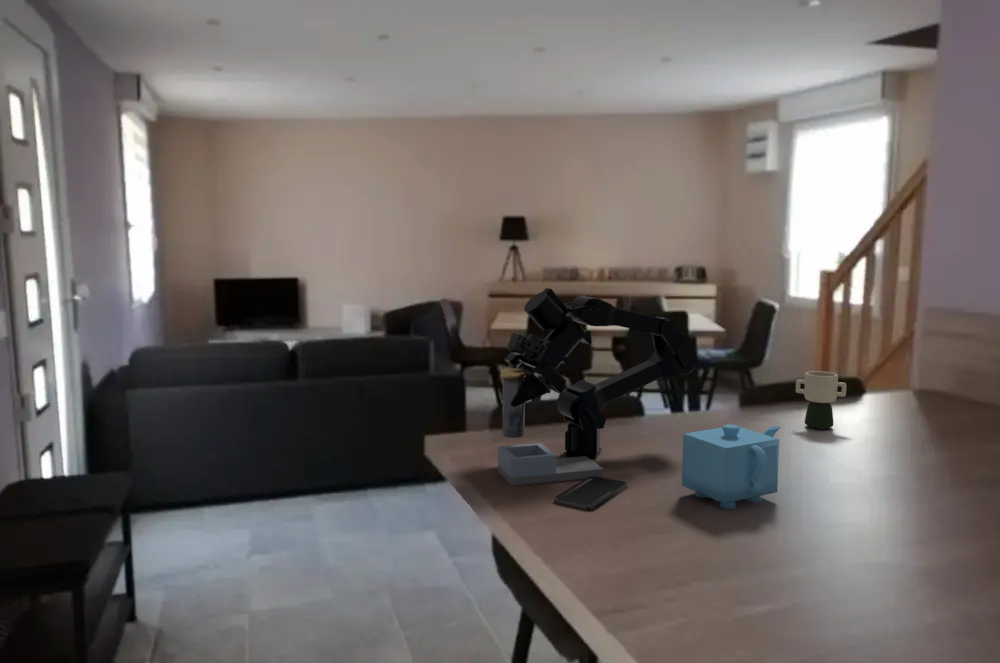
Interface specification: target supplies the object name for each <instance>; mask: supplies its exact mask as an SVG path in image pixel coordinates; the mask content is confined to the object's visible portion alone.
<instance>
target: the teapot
mask: <svg viewBox="0 0 1000 663" xmlns="http://www.w3.org/2000/svg"><path fill="white" fill-rule="evenodd" d="M781 428H782V427H781V426H779V425H776V426H770V427H768V428H767V429H766V430H765V431H764V433H761V432H758V431H754V430H750V429H749V428H748V429H747V428H744V427H741V426H738V425H735V424H728V423H727V424H723V425H722V426H721V427H719V428H716V427H715V428H711V429H705V430H698V431H692V432H688V433H687V432H686V433H684V434H682V459H681V460H682V461H681V463H682V464H681V486H682V487H684V488H686V489H689V490H691V491H694V492H695V493H694V496H695V497H698V498H702V499H703V498H704V499H705V498H709V499H712V500H713V501H716V502H718V503H720V505H719V507H721V508H722V509H725V510H734V509H736V508H737V507H736V502H738V501H739V502H740V501H742V500H743V501H744V500H747V501H748V502H750V503H753V504H754V503H756V504H759V503H763V502H764V500H763V498H762V496H766V495H771V494H774V493H778V484H779V483H778V480H779V463H780V462H779V457H780V439H779V438H777V437H775V435H776V434H777V432H778V431H779V430H780V429H781Z"/></svg>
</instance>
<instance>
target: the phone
mask: <svg viewBox="0 0 1000 663" xmlns="http://www.w3.org/2000/svg"><path fill="white" fill-rule="evenodd" d="M626 489H628V482H626V481H623V480H618V479H611V478H608V477H607V478H605V477H597V476H590V477H588V478H584V479H582V480H581V481H580V482H578V483H576V484H574V485H573V486H571V487H569V488H568V489H566V490H564V491H563V492H561V493H560V494H558V495H556V496H554V504H556V505H561V506H565V507H568V508H574V509H578V510H583V511H587V512H591V511H593V512H594V511H596V510H597V509H599V508H601V506H603V505H605V504H606V503H608V502H609V501H610V500H613V498H615V497H617V495H619V494H621V493H622V492H623V491H624V492H625V490H626Z"/></svg>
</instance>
